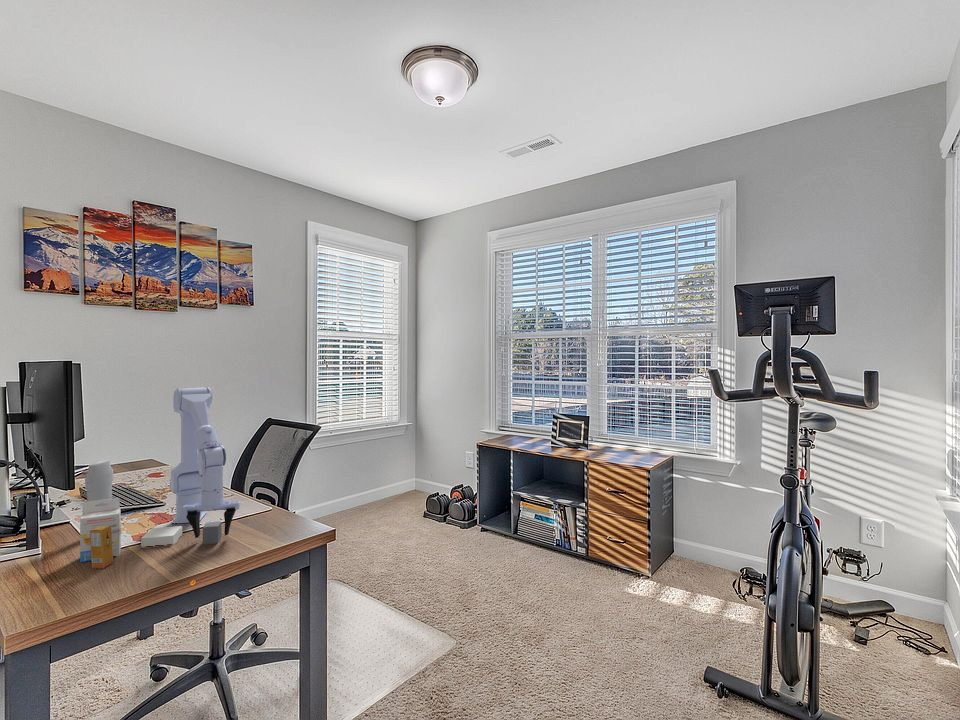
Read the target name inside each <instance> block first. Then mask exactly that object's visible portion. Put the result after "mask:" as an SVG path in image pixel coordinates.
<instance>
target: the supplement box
mask: <svg viewBox="0 0 960 720" xmlns="http://www.w3.org/2000/svg"><path fill="white" fill-rule="evenodd" d="M90 543H91V561H90V562H91V568H92V569H96V568H97V569H105V568H106V567H108V566H110V565H112V564H113V562H114V559H113V558H114V557H113V553H112V533H111V526H98V527H96V528H94V529H92V530H90Z"/></svg>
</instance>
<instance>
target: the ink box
mask: <svg viewBox="0 0 960 720" xmlns="http://www.w3.org/2000/svg"><path fill="white" fill-rule="evenodd" d="M100 503H103V504H105V503H107V504H108V505H107V506H99V507H95V505H98V504H100ZM120 504H121V499H120V497H114V498H113V497H112V499H103V500H96V501H88V502H87V501H83V502H82V514H81V516H80V519H79V522H80V523H79V561H80V562H79V563H85V562H92V561H91V543H90V530H92V529H94V528H96V527H98V526H111V533H112V553H113V556H116V557H120V556H121V549H122V548H121V547H122V545H121V543H122V542H121V540H122V539H121V536H122V535H121V532H122V531H121V530H122V529H121V526H122V525H121V524H122V523H121V519H122V518H121V514H122V513H121V512H122V511H121V507H120V506H121V505H120Z"/></svg>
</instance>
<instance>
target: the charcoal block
mask: <svg viewBox="0 0 960 720" xmlns="http://www.w3.org/2000/svg"><path fill="white" fill-rule="evenodd" d="M222 535H223V534H222V521H220V520H219V521H209V522H207V521H206V522H205V524H204V525H203V526H202V545H210V544H211V545H212V544H219V543H220V542H221V540H222Z"/></svg>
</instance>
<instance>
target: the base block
mask: <svg viewBox="0 0 960 720" xmlns="http://www.w3.org/2000/svg"><path fill="white" fill-rule="evenodd" d="M180 536H183V525H176V526H175V525H174V526H164V527H152V528H150V530H148V531H147V532H146V533H145V534H144V535H143V536H142V537H141V539H140V543H141V544H140V548H145V547H144V546H153V547H155V546H154V545H164V546H168V545H167V544H174V545H175V544H176V543H177V541H178V540H179V539H180V538H181V537H180ZM179 537H180V538H179ZM178 538H179V539H178Z"/></svg>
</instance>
